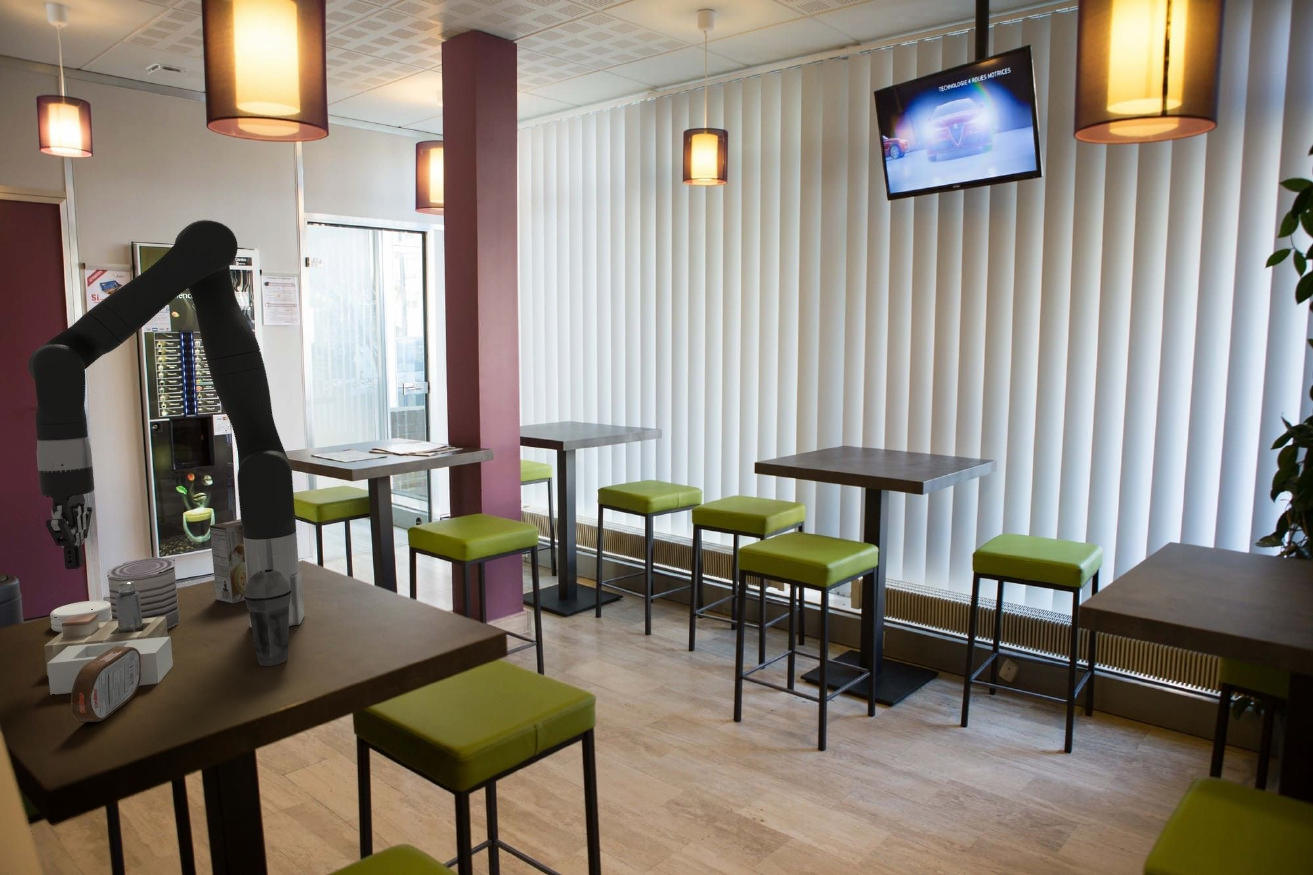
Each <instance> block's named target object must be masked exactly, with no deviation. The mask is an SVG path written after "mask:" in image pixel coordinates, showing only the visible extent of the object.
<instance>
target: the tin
mask: <svg viewBox="0 0 1313 875" xmlns="http://www.w3.org/2000/svg"><path fill="white" fill-rule="evenodd" d="M140 680H141V655H140V653H139V651H138V650H137V649H136V648H134V647H120V646H114V647H112V648H111V649H109V650H108V651H106V652H104V653H103V654H101V655H100V656H98V657H96V658H95V659H93V660H92V661H90V662H88V663H87V664H85V665H84V666H83V667H82V668H81V670H80V671H79V673H78V675H77V677H76V679H75V681H74V684H73V688H72V693H70V709H71V713H72V717H73V718H74V720H75V721H76V722H78V723H79V724H80V723H84V724H85V723H99V722H103V721H104V720H107V718H109V717H110V716H111V715H112V714H114V713H115V712H116V711H118V709H120V708H122V707H123V706H124V705H126V703H129V701H131V699H133V697H134V696H135V695H136V693H137V691H138V690H139V686H140V685H139V684H140Z"/></svg>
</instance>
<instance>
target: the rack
mask: <svg viewBox="0 0 1313 875" xmlns="http://www.w3.org/2000/svg"><path fill="white" fill-rule="evenodd" d="M171 637H172V636H168V637H159V638H149V639H139V640H128V641H118V642H107V643H97V644H86V645H76V646H68V647H67V648H65V649H64V650H63V651H62V652H61V653H59V654H58V655H57V656H56V657H54V658H53V659H52V660H51V661H50V662H48V663H47V667H48V685H49V693H50V695H49V696H52V694H55V695H61V694H63V695H64V694H71V693H72V688H73V684H74V681H75V679H76V677H77V675H78V673H79V671H80V670H81V668H82V667H83V666H84V665H85V664H87V663H88V662H90V661H92V660H93V659H95V658H96V657H98V656H100V655H101V654H103V653H104V652H106V651H108V650H109V649H111V648H112V647H114V646H120V647H134V648H136V649H137V650H138V651H139V653H140V655H141V680H140V684H139V686H146V685H148V686H149V685H156V684H159V683H161V681H162V680H163V678H164V677H165V676H166V675H167V673H168V672H169V671H170V670H171V669H172V668H173V667H174V662H173V652H172V651H173V649H172V640H171Z"/></svg>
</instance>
